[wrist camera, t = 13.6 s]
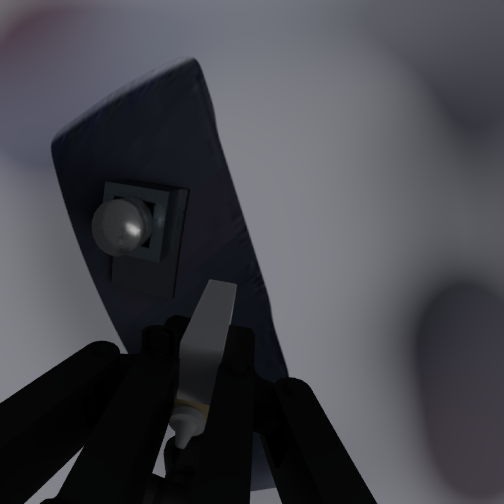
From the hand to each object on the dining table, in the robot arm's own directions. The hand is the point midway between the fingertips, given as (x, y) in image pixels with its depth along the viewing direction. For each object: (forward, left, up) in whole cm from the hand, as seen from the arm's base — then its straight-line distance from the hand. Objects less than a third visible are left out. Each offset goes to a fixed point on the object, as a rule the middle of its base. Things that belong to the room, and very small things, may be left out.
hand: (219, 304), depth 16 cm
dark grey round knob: (-1, +13, -24) cm, 28 cm away
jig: (-5, +13, -25) cm, 29 cm away
